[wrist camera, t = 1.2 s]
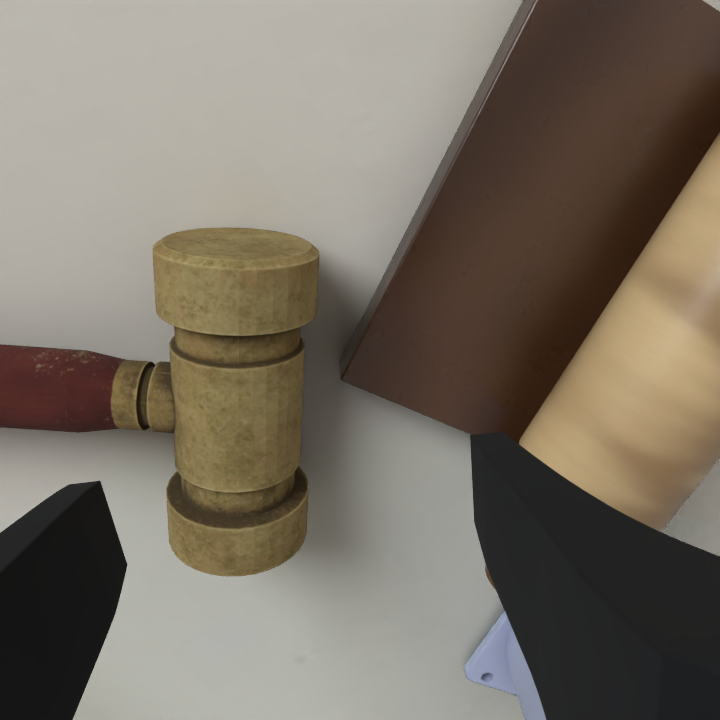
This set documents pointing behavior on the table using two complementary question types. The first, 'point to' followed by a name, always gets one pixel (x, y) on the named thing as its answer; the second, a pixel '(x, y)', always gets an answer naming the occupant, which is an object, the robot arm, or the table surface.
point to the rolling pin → (647, 371)
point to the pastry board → (540, 207)
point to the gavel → (202, 393)
